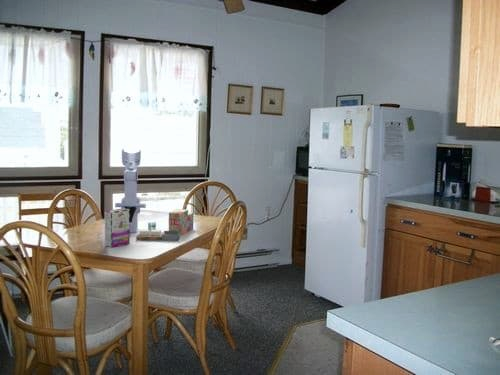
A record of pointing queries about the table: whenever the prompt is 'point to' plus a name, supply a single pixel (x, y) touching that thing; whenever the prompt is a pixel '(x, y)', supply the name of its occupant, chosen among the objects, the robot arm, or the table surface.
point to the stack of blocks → (180, 221)
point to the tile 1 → (144, 232)
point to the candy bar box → (117, 227)
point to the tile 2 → (156, 232)
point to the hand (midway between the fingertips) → (130, 222)
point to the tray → (171, 236)
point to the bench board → (149, 237)
